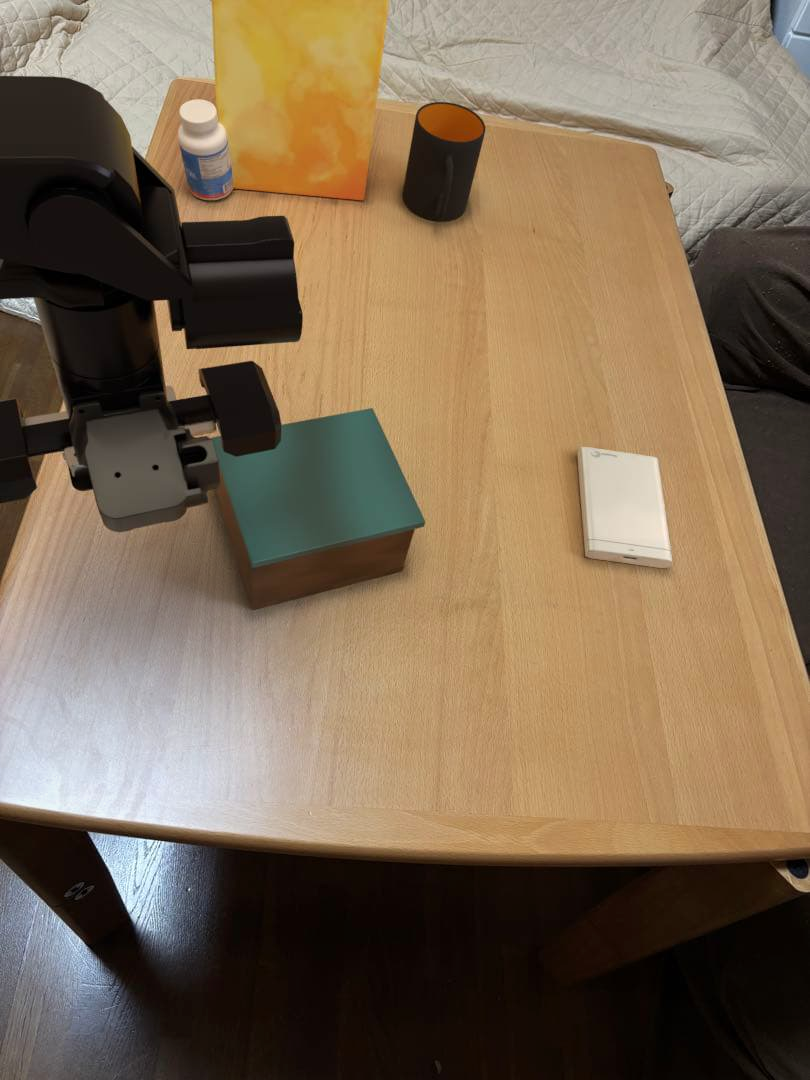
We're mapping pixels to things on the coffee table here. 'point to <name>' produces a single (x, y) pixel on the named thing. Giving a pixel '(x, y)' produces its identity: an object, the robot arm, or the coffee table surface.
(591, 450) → the hard drive
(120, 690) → the coffee table surface
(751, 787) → the coffee table surface
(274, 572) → the box
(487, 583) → the coffee table surface
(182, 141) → the pill bottle
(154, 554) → the coffee table surface
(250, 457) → the lid
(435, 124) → the mug
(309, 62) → the mottled yellow carton
